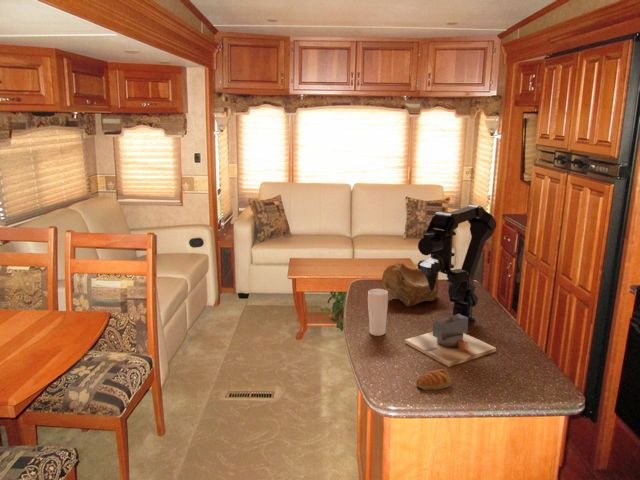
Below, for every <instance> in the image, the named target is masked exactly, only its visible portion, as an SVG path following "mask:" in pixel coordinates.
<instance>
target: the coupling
mask: <svg viewBox="0 0 640 480" xmlns="http://www.w3.org/2000/svg"><path fill="white" fill-rule="evenodd" d="M468 325H469V322H468V318H467V317H465V316H463V315H460V314H457V315H453V314H452V315H451V316H446V317H443V318H439V319H434V320H433V322H432V326H433V327H432V332H433V336H435V337H437V343H438V344H439V345H440V346H443V347H446V348H458V347H460V348H462V349H464V350H465V349H467V347H468V343H467V342H465V341H463V334H464V333H465V334H467V333H468V327H469V326H468Z"/></svg>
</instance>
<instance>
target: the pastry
mask: <svg viewBox="0 0 640 480" xmlns="http://www.w3.org/2000/svg"><path fill="white" fill-rule="evenodd" d="M415 384H416V386H417V388H420V389H422V390H424V391H429V390H430V391H431V390H432V391H433V390H434V391H438V390H440V389H446V388H449V387H450V386H451V385H452V380H451V376H450V375H449V372H448V371H447V370H445V369H441V368H439V369H435V370H429V371H427V372H426V373H425V374H423V375H421V376H419V377H418V378H417V379H416V383H415Z"/></svg>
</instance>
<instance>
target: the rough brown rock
mask: <svg viewBox="0 0 640 480" xmlns="http://www.w3.org/2000/svg"><path fill="white" fill-rule="evenodd" d="M439 273H440V272H438V273H437V277H436V282H435V287H434V290H433V291H431V290H430V288H429V284H428V281H427V278H426V276H425V274H423V273H422V272H421V271H420V269H418V268H413V267H408V266H406V265H405V264H404V263H403V262H399V261H398V262H395V263H393V264H389V266H386V268H385V270H383V273H382V278H381V281H382V282H381V283H382V286H383V287H384V288H385V289H387V290H388V292H389V293H390V297H391V298H393V299H394V300H399V301H400V302H402V304H403V305H405V306H406V307H412V306H416V305H418V304H420V303H422V302H432V301H435V300H436V298H437V295H438V293H439Z"/></svg>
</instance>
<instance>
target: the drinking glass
mask: <svg viewBox="0 0 640 480" xmlns="http://www.w3.org/2000/svg"><path fill="white" fill-rule="evenodd" d="M388 305H389V290H386V289H383V288H372V289H369V290H368V292H367V307H368V310H367V313H368V321H369V322H368V323H369V325H368V326H369V333H370V335H372V336H374V337H375V336H376V337H380V336H381V337H382V336H383V335H385V334H386V327H387V325H386V324H387V317H388V316H387V315H388Z"/></svg>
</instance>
